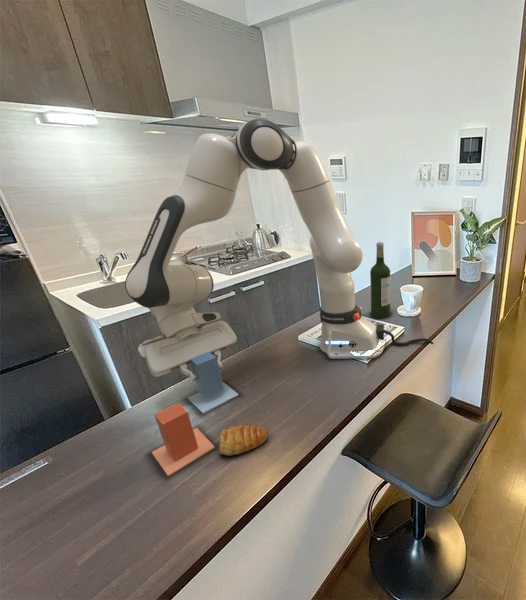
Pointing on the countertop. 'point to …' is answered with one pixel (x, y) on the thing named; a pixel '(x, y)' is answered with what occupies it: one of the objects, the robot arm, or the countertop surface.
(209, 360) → the blue block
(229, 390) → the blue mat
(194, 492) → the countertop surface
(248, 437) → the pastry
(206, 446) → the terracotta mat
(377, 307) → the wine bottle
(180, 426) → the terracotta block
